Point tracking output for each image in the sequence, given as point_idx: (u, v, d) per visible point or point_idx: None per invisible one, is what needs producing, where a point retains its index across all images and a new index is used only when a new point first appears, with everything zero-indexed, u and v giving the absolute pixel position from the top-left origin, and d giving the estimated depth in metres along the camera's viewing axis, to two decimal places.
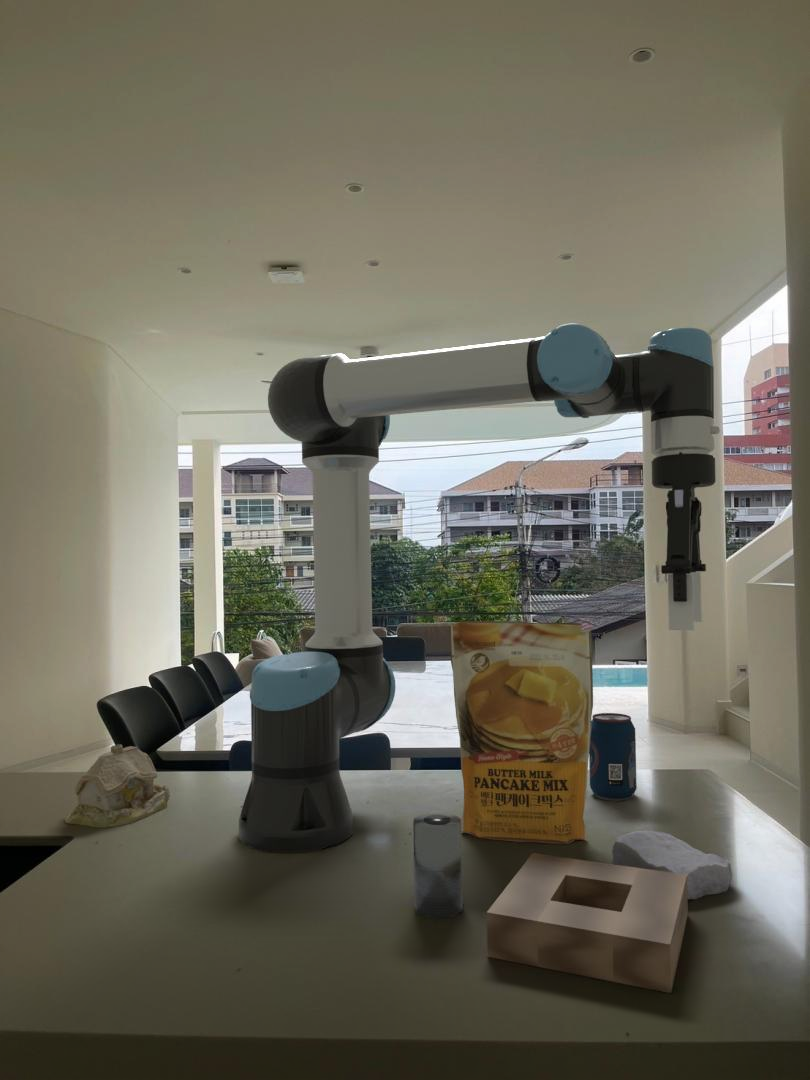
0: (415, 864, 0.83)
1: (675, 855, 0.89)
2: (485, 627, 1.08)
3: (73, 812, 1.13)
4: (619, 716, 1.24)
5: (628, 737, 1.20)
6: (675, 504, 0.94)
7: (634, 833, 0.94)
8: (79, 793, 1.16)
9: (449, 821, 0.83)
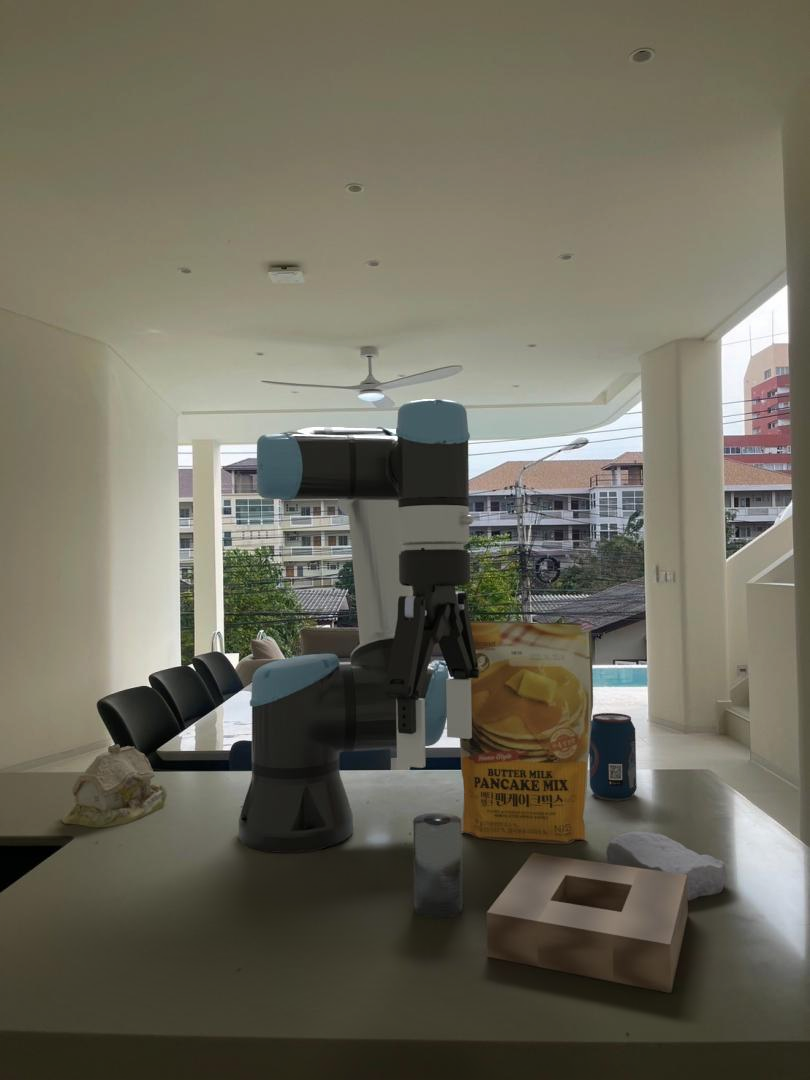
0: (415, 864, 0.83)
1: (669, 856, 0.89)
2: (485, 627, 1.08)
3: (71, 812, 1.13)
4: (619, 716, 1.24)
5: (628, 737, 1.20)
6: (405, 614, 0.78)
7: (628, 834, 0.93)
8: (76, 793, 1.16)
9: (449, 821, 0.83)
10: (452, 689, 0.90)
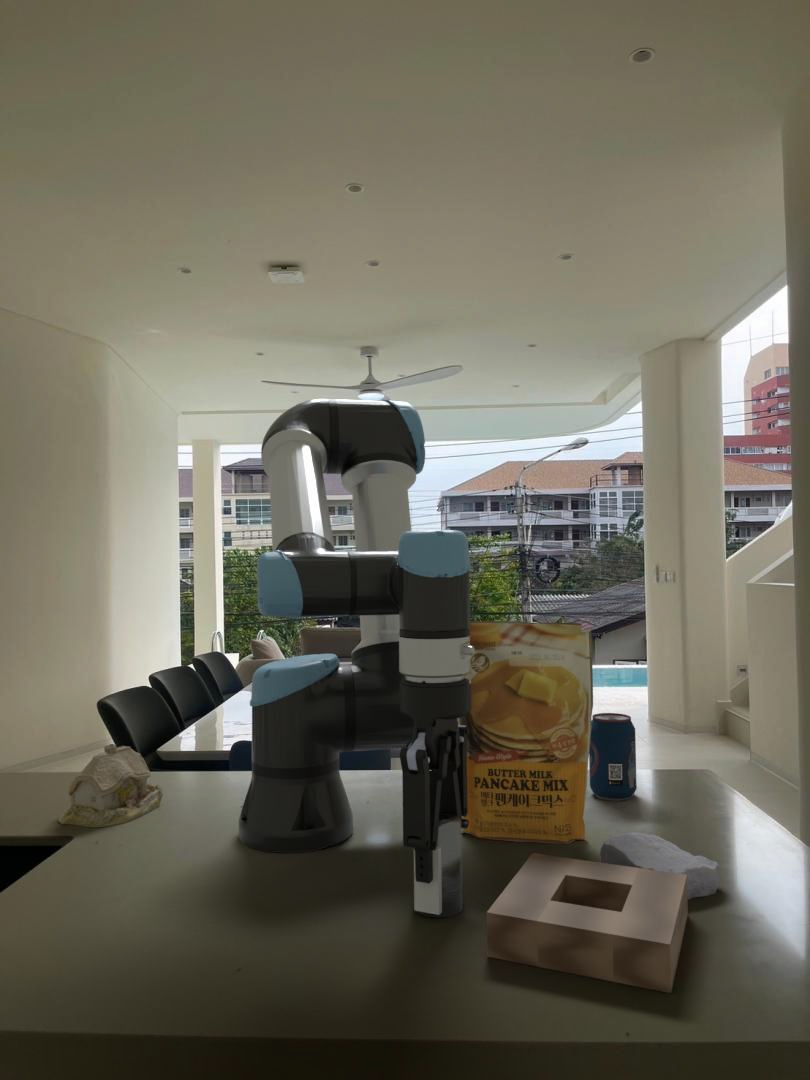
0: None
1: (663, 857, 0.88)
2: (485, 627, 1.08)
3: (67, 812, 1.13)
4: (619, 716, 1.24)
5: (628, 737, 1.20)
6: (409, 768, 0.79)
7: (622, 835, 0.93)
8: (72, 793, 1.16)
9: (449, 821, 0.83)
10: None
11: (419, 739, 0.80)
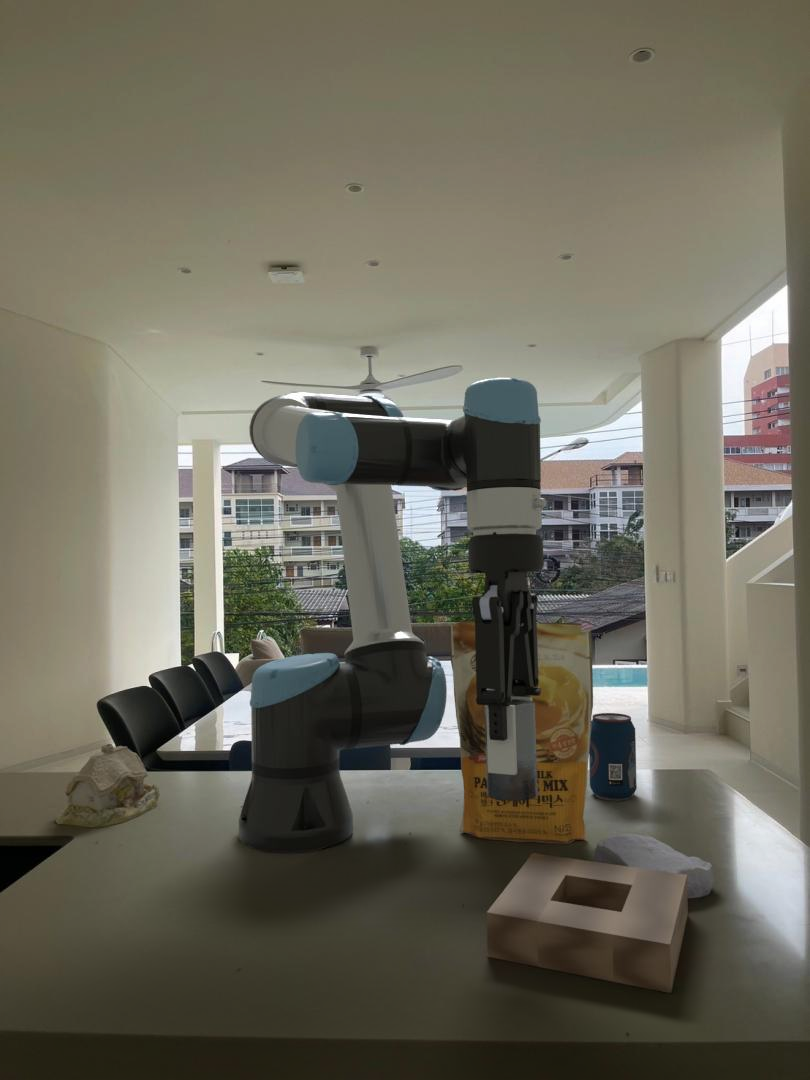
0: None
1: (657, 859, 0.88)
2: None
3: (65, 813, 1.13)
4: (619, 716, 1.24)
5: (628, 737, 1.20)
6: (482, 617, 0.75)
7: (616, 836, 0.93)
8: (69, 794, 1.16)
9: (522, 702, 0.80)
10: None
11: (491, 591, 0.77)
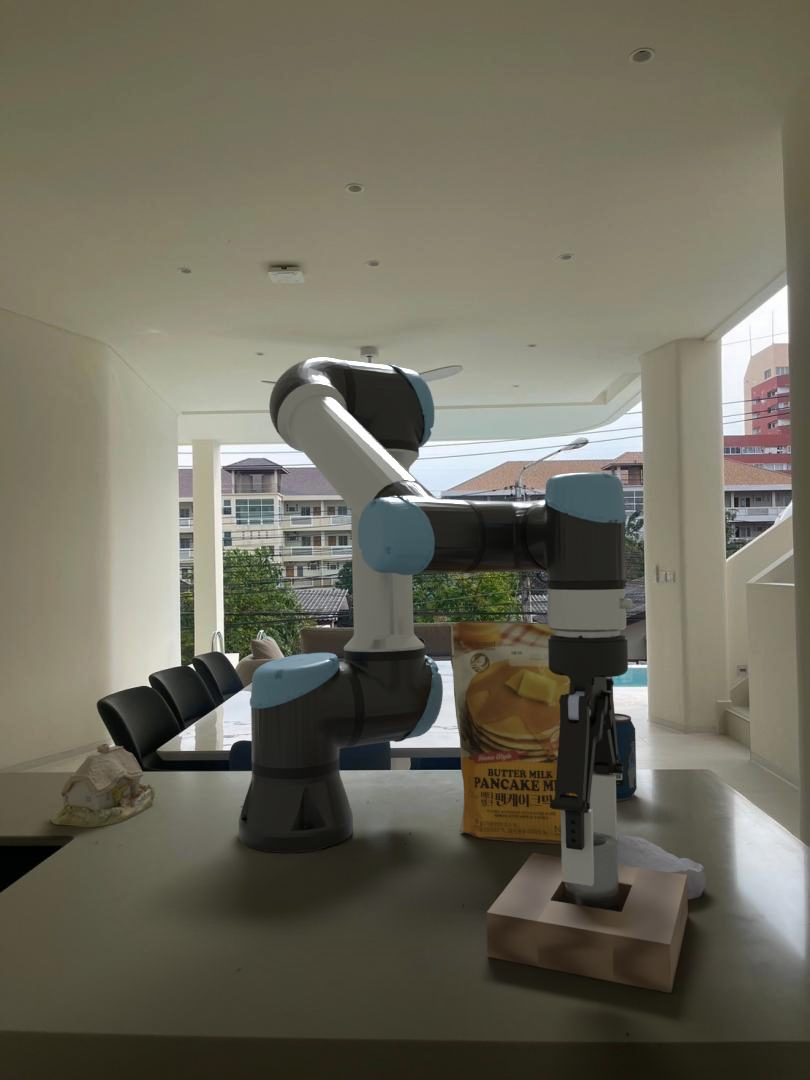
0: (569, 888, 0.76)
1: (648, 861, 0.87)
2: (485, 627, 1.08)
3: (61, 813, 1.13)
4: (619, 716, 1.24)
5: (628, 737, 1.20)
6: (569, 716, 0.72)
7: None
8: (65, 794, 1.16)
9: (605, 841, 0.77)
10: (595, 786, 0.83)
11: (578, 693, 0.74)
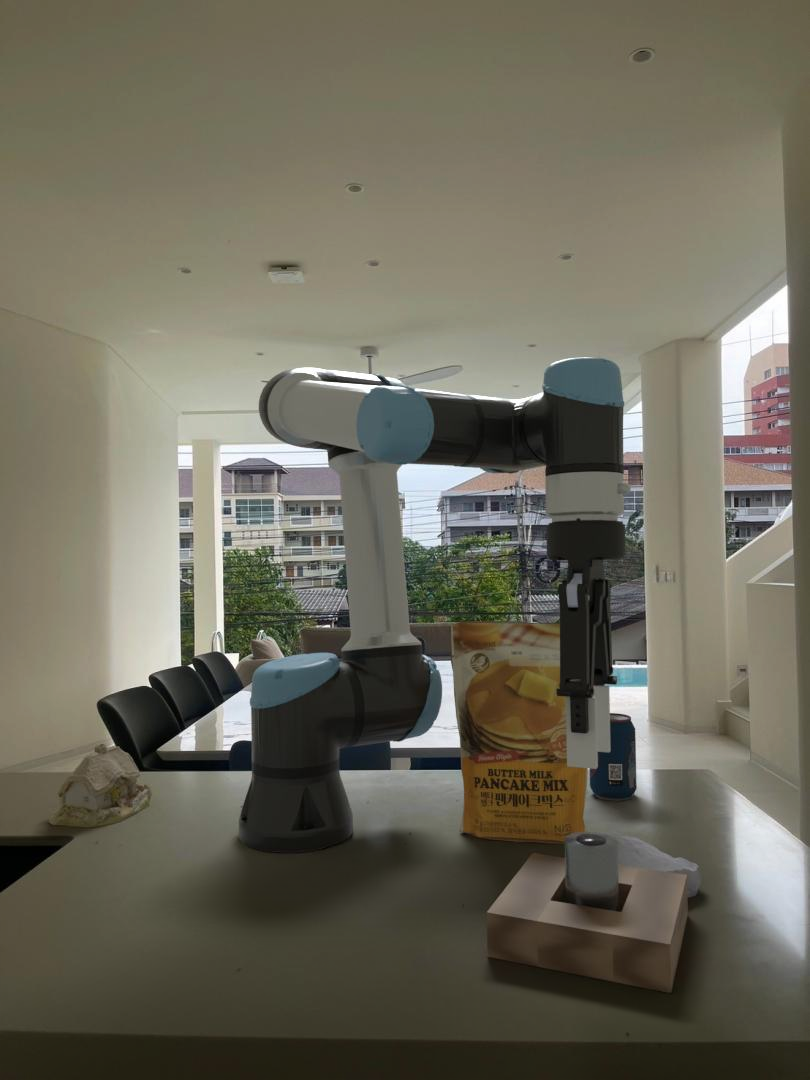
0: (569, 888, 0.76)
1: (644, 860, 0.88)
2: (485, 627, 1.08)
3: (59, 813, 1.12)
4: (619, 716, 1.24)
5: (628, 737, 1.20)
6: (568, 605, 0.72)
7: None
8: (62, 795, 1.15)
9: (605, 841, 0.77)
10: None
11: (575, 578, 0.74)
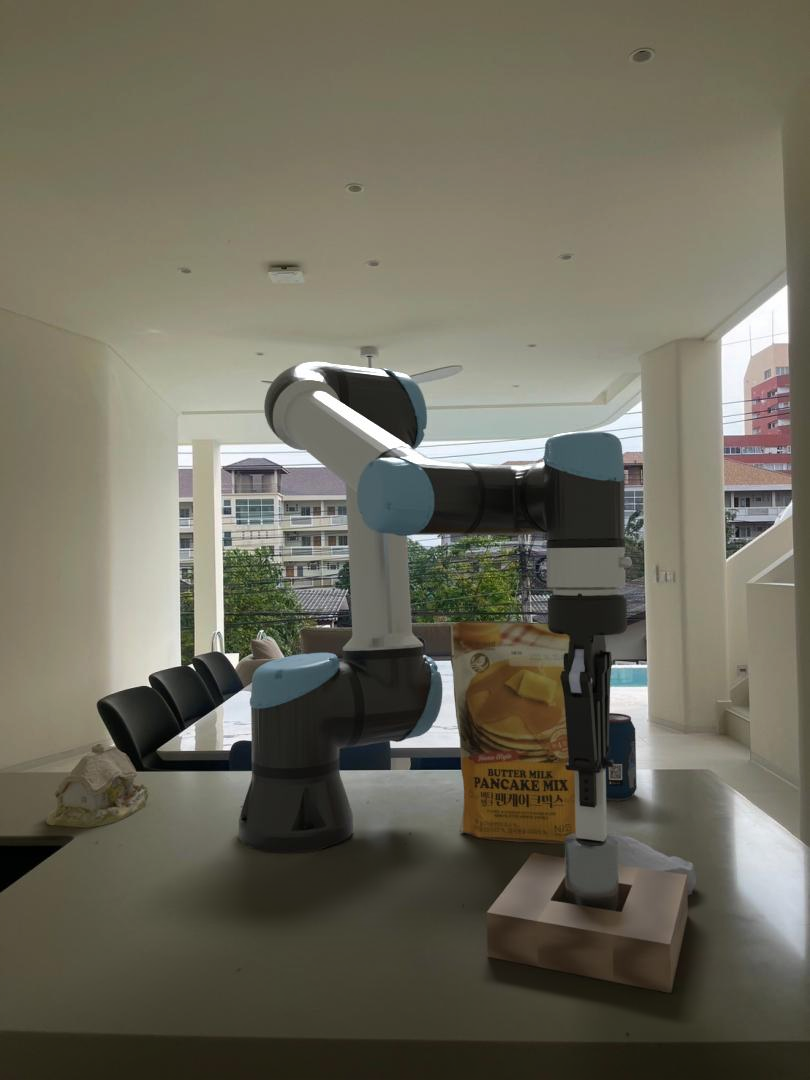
0: (569, 888, 0.76)
1: (640, 859, 0.88)
2: (485, 627, 1.08)
3: (56, 814, 1.12)
4: (619, 716, 1.24)
5: (628, 737, 1.20)
6: (572, 691, 0.73)
7: None
8: (59, 795, 1.15)
9: (605, 842, 0.77)
10: None
11: (577, 659, 0.74)
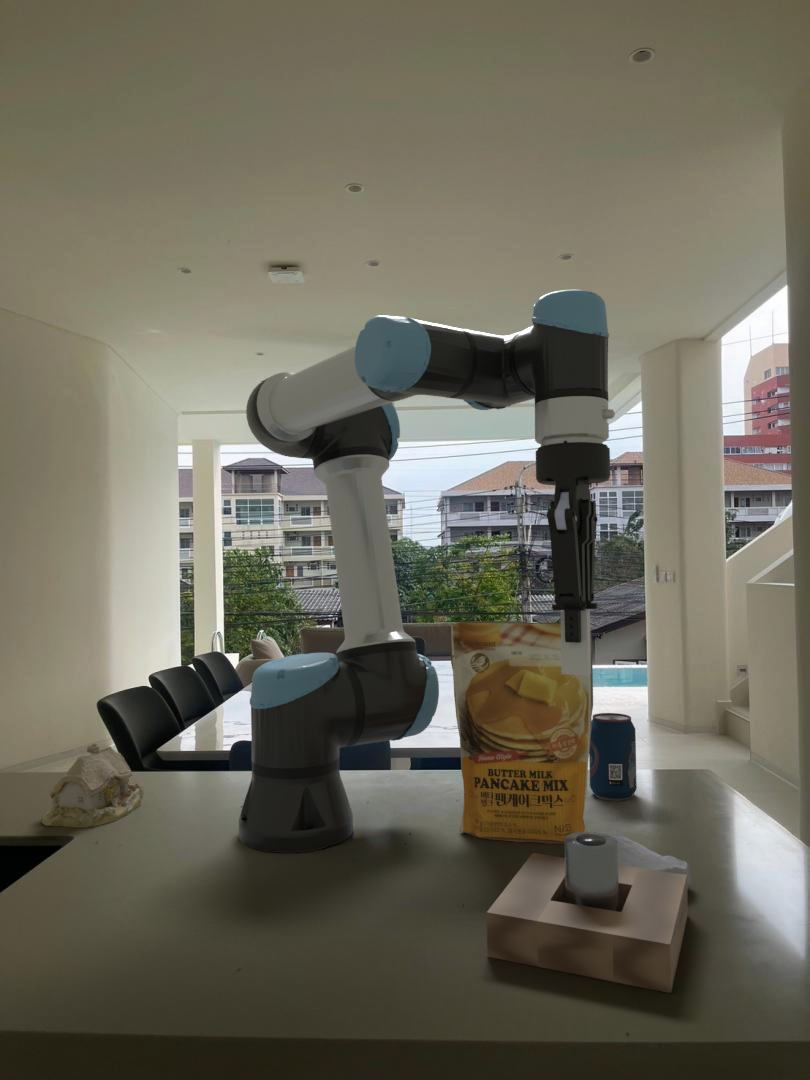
0: (569, 888, 0.76)
1: (635, 859, 0.88)
2: (485, 627, 1.08)
3: (52, 814, 1.12)
4: (619, 716, 1.24)
5: (628, 737, 1.20)
6: (557, 528, 0.78)
7: None
8: (54, 795, 1.15)
9: (605, 841, 0.77)
10: None
11: (562, 500, 0.79)
